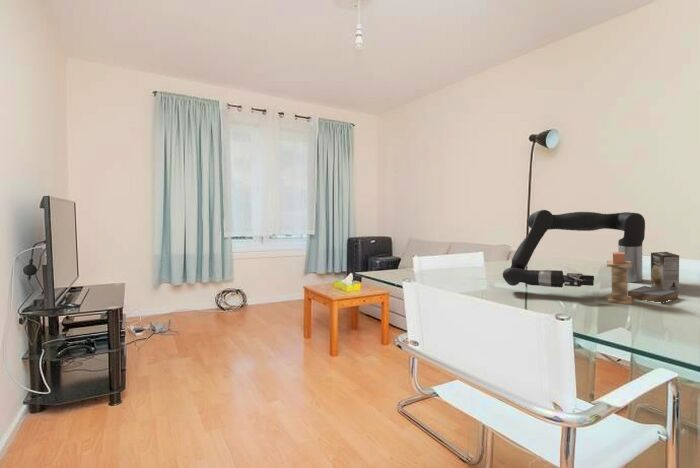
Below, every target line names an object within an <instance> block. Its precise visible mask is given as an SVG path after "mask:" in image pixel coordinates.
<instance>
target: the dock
mask: <svg viewBox="0 0 700 468" xmlns="http://www.w3.org/2000/svg"><path fill="white" fill-rule="evenodd" d="M627 296H631V299H632V300H638V301H642V300H647V301H646V302H648V301H654V302H661V303H663V302H666V301H668V300H672V301H674V299H675V300H677V299H679V292H676V291H673V290H666V289H660V288H654V287H651V286H647V285H643V286H641V287H640V286H639V287H637V288H634V289H630V290H627Z"/></svg>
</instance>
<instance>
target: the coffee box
mask: <svg viewBox="0 0 700 468" xmlns="http://www.w3.org/2000/svg"><path fill="white" fill-rule="evenodd" d="M650 287H654V288H660V289H666V290H673V291H676V292H678V293H679V291H680V255H678V254H676V253H672V252H668V251H656V252H650Z"/></svg>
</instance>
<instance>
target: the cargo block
mask: <svg viewBox="0 0 700 468" xmlns="http://www.w3.org/2000/svg"><path fill="white" fill-rule="evenodd" d="M612 261H613V264H625V252H619V251H618V252H617V251H616V252H615V251H613V252H612Z"/></svg>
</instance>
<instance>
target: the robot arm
mask: <svg viewBox="0 0 700 468" xmlns="http://www.w3.org/2000/svg"><path fill="white" fill-rule="evenodd" d="M526 223H527V226H528V227H529V228H530V230H529V231H528V234H527V235H526V236H525V237H524V239H523V241H521V243H520V244H519V245H518V247H517V249H516V250H515V252H514V254H513V256H512V259H511V266H510V267H507V268H506V269H504V270H503V272H502V278H503V279H504V282H506V284H508V285H509V286H512V287H513V286H517V285H519V284H520V283H523V284H526V285H529V286H539V287H545V288H546V287H548V288H549V287H550V288H563V287H564V286H565V287H578V288H580V287H582V286H592V287H593V286H594V285H595V284H594V281H595V276H594V275H587V274H586V275H585V274H583V273H577V272H576V273H571V272H567V273H566V274H564V271H563V270H554V269H542V270H539V269H537V270H536V269H527V268H526V267H527V265H528V264H529V262H530V259H531V258H532V256H533V254H534V252H535V250H536V248H537V247H538V244H539V243H540V241H541V240H542V239H543V237H544V235H545V234H546V233H547V231H548V230H564V231H578V232H579V231H580V232H581V231H583V232H584V231H585V232H591V231H593V232H594V231H597V230H603V229H604V230H605V229H607V230H616V231H617V230H618V231H621V232H622V231H623V237H622V238H619V239H618V241H617V246H618V252H625V261H631V264H632V268H631V267H627V283H640V282H643V278H644V276H643V274H644V273H643V243H644V240H645V238H646V237H645V233H646V232H645V231H646V220H645V217H644V216H643V215H642V214H640V213H637V212H629V211H628V212H627V211H626V212H615V213H614V212H613V213H600V212H594V211H593V212H592V211H576V212H566V213H560V214H553V213H552V212H551V211H549V210H547V209H541V210H538V211H535V212H533V213H531V214H530V215H529V216H528V217H527V219H526Z"/></svg>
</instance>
